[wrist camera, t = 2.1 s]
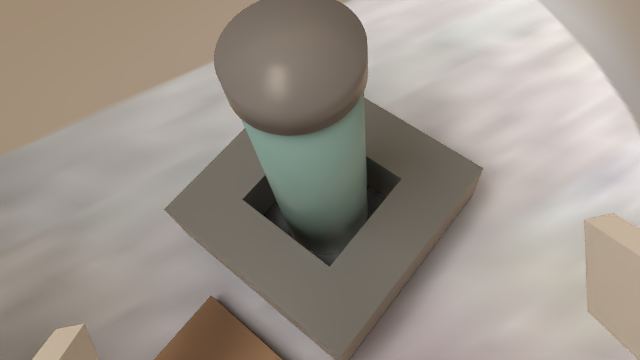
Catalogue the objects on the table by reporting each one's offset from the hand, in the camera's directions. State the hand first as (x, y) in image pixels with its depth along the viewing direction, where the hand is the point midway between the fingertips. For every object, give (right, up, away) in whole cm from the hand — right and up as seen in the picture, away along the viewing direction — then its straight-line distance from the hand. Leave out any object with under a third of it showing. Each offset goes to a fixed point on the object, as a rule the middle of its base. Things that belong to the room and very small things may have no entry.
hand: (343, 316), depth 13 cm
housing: (0, +1, +21) cm, 21 cm away
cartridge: (0, +1, +21) cm, 21 cm away
